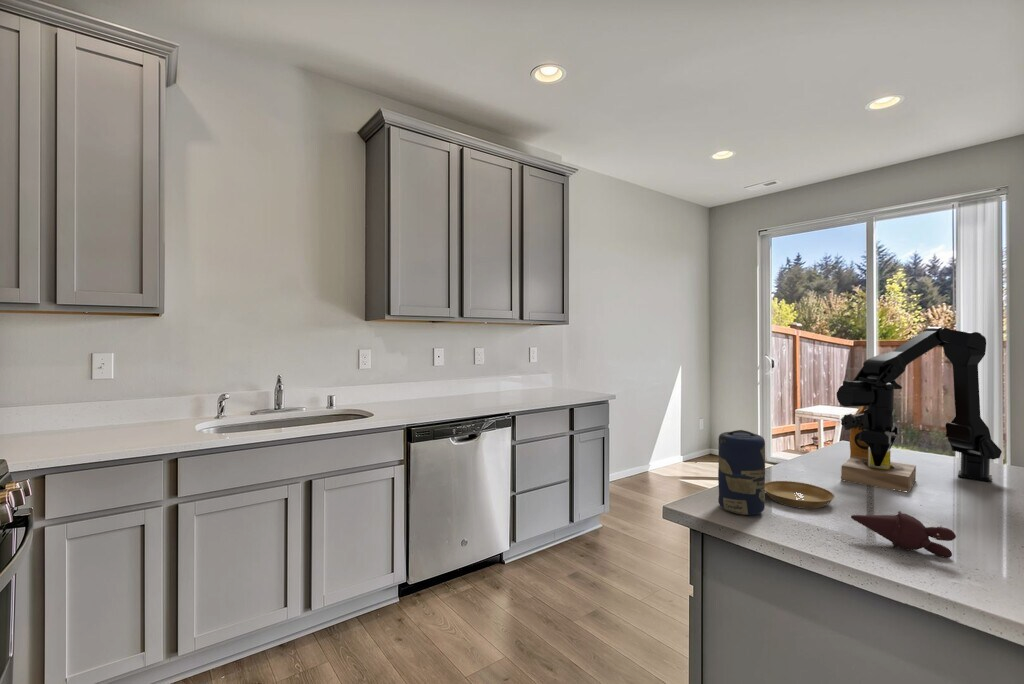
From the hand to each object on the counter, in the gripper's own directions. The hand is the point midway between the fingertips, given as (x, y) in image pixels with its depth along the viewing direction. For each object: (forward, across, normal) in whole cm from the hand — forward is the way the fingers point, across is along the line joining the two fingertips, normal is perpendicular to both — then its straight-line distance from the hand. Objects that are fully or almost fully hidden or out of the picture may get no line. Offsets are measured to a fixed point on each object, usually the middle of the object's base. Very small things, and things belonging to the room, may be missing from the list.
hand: (879, 463), depth 129 cm
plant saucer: (+5, +32, -11) cm, 34 cm away
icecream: (+4, +47, +10) cm, 48 cm away
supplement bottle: (+2, 0, 0) cm, 2 cm away
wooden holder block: (+4, 0, 0) cm, 4 cm away
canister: (+4, +48, -18) cm, 52 cm away
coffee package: (+5, -18, -5) cm, 19 cm away
